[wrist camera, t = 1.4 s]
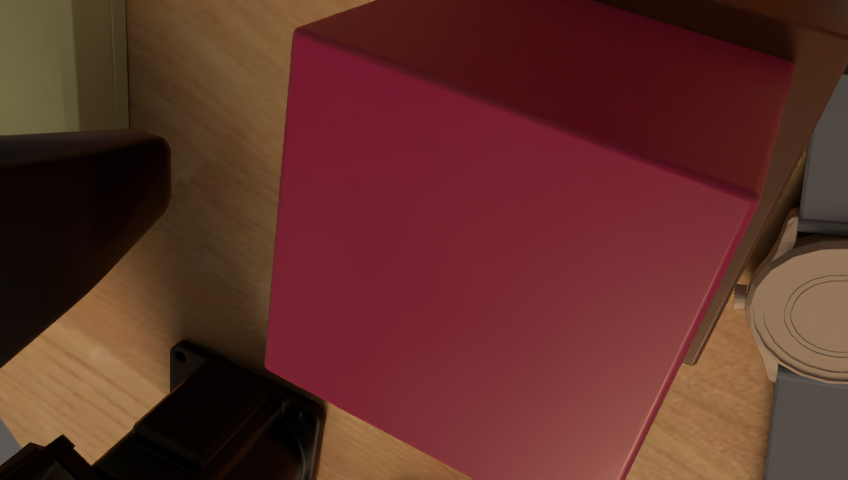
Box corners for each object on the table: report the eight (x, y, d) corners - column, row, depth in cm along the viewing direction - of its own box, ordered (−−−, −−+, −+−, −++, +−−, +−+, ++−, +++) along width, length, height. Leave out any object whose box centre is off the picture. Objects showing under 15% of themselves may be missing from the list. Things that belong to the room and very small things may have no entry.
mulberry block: (671, 334, 13) (593, 546, 9) (420, 226, 15) (261, 369, 11) (797, 62, 11) (764, 196, 7) (475, -37, 12) (289, 26, 8)
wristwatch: (1056, -184, 13) (1073, -185, 12) (862, 618, 22) (865, 649, 21) (782, -158, 15) (781, -158, 14) (705, 576, 23) (701, 603, 23)
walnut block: (736, 229, 18) (694, 369, 13) (506, 142, 20) (397, 238, 15) (858, -26, 15) (860, 39, 10) (572, -104, 17) (458, -78, 12)
